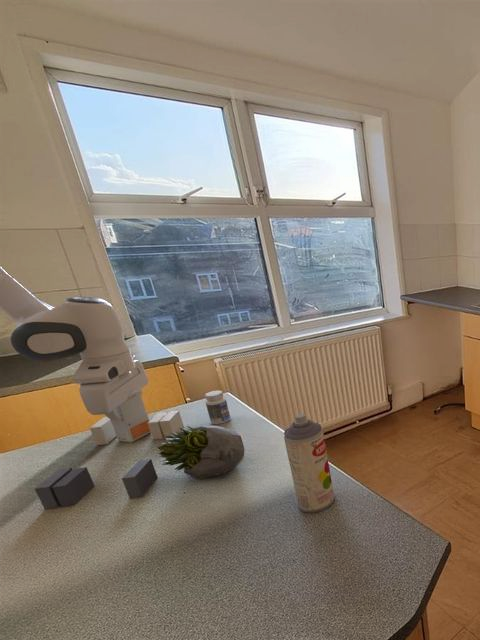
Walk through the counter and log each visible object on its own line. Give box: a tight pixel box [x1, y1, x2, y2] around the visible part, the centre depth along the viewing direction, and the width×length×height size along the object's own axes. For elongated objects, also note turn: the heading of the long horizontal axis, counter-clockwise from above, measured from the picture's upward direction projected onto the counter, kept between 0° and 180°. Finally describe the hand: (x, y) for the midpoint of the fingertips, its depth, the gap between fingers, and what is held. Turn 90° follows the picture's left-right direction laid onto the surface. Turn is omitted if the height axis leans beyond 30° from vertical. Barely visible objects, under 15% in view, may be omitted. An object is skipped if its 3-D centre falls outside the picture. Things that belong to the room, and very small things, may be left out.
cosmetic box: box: [112, 391, 151, 443], centre depth 110 cm, size 6×4×12 cm
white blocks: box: [89, 410, 185, 446], centre depth 111 cm, size 17×6×5 cm, turn 105°
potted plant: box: [156, 424, 245, 479], centre depth 95 cm, size 12×13×15 cm
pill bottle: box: [204, 390, 231, 425], centre depth 119 cm, size 5×5×8 cm
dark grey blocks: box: [34, 458, 159, 510], centre depth 89 cm, size 16×7×5 cm, turn 105°
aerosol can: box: [283, 413, 336, 514], centre depth 85 cm, size 7×7×20 cm
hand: (128, 414), depth 109 cm, fingers open, 8 cm apart
